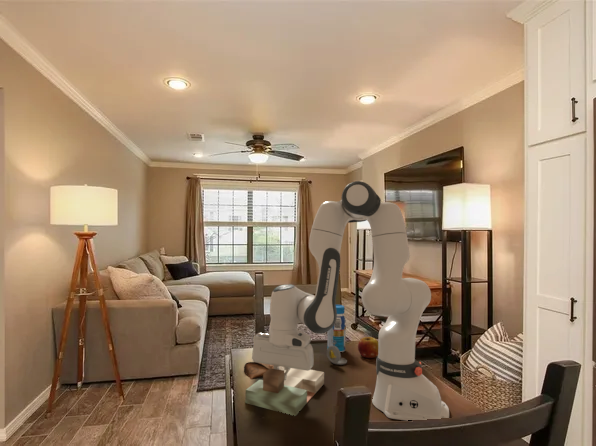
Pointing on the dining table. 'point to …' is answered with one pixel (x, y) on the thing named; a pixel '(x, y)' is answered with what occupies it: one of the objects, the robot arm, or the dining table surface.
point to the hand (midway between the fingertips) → (281, 379)
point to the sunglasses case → (256, 369)
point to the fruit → (368, 347)
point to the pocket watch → (335, 355)
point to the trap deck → (287, 391)
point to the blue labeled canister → (338, 330)
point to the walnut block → (273, 380)
